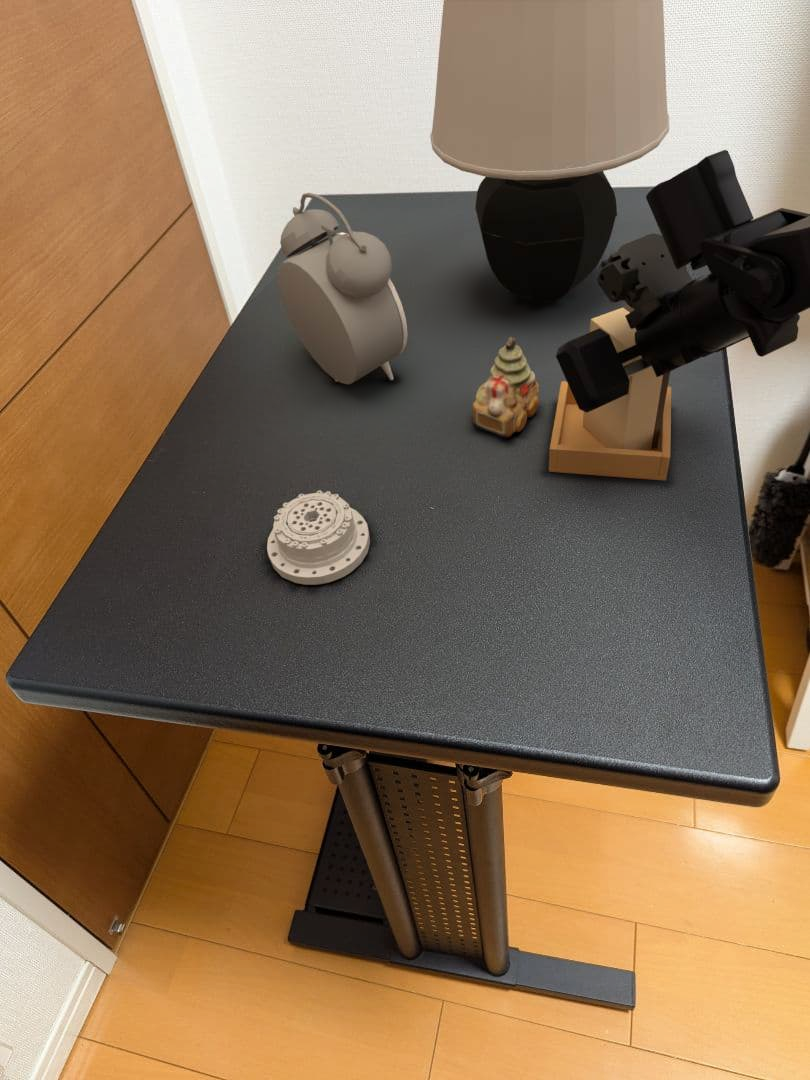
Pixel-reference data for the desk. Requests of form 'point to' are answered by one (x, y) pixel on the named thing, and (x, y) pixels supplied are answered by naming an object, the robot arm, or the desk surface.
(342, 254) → the alarm clock
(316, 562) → the mechanical component
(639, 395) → the back pad
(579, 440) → the mount frame
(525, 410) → the ornament
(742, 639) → the desk surface
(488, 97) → the table lamp
